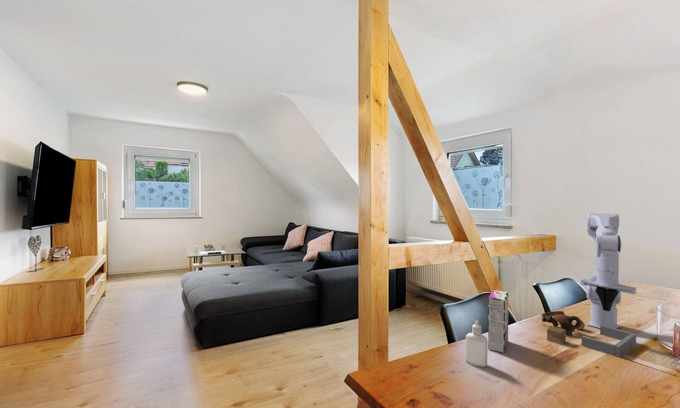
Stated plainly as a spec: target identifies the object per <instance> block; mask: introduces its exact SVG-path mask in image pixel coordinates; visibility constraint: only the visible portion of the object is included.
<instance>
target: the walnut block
mask: <svg viewBox="0 0 680 408" xmlns="http://www.w3.org/2000/svg"><path fill="white" fill-rule="evenodd" d="M546 329H547V330H546V340H547V342H551V343H553V344H557V345H563V344H564V343H566V341H567V340H566V338H567V335H566V330H564V329H560V327H558V326H556V327H555V326H554V325H552V326H550V327H548V328H546Z"/></svg>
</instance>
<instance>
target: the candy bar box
mask: <svg viewBox="0 0 680 408" xmlns="http://www.w3.org/2000/svg"><path fill="white" fill-rule="evenodd" d="M487 313H488V314H487V315H488V323H487V324H488V331H487V332H488V334H487V335H488V336H487V337H488V338H487V340H488V348H487V350H489V351H492V352H498V353H503V354H505V353H506V349H507V346H508V342H509V291H503V290H496V289H493V290H492V291H491V293H490V295H489V297H488V312H487Z"/></svg>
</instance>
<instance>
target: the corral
mask: <svg viewBox="0 0 680 408" xmlns="http://www.w3.org/2000/svg"><path fill="white" fill-rule="evenodd" d="M599 329H600V330H599V333H600V335H602V336H605V337H609V338H613V339H617V340H619V341H618V342H617V343H615V344H614V343H610V342H607V341H603V340H601V339H596V338H592V337H589V336H586V335H582V336H581V346H582V347H585V348H588V349H591V350H595V351H597V352H601V353H603V354H607V355H611V356H614V357H617V358H619V357H620V356H623V354H625V351H626V352H627V351H628V350H629V349H631V348H632V347H633V346H634V345H636V344H637V333H635V332H631V331H627V330H622V329H619V328H617V329H615V328H611V327H607V326H603V325H601V326H600V328H599ZM631 346H632V347H631ZM630 347H631V348H630Z"/></svg>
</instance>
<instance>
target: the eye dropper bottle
mask: <svg viewBox="0 0 680 408" xmlns="http://www.w3.org/2000/svg"><path fill="white" fill-rule="evenodd" d="M471 329H472V330H471V332H468V333H467V334H466V335H465V359H464V360H465V363H467V364H469V365H472V366H476V367H481V368H485V367H487V365H488V338H487V336H485V335H484V334H482V326H481V325H480V323H479V320H475V322H474V324H472V326H471Z"/></svg>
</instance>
